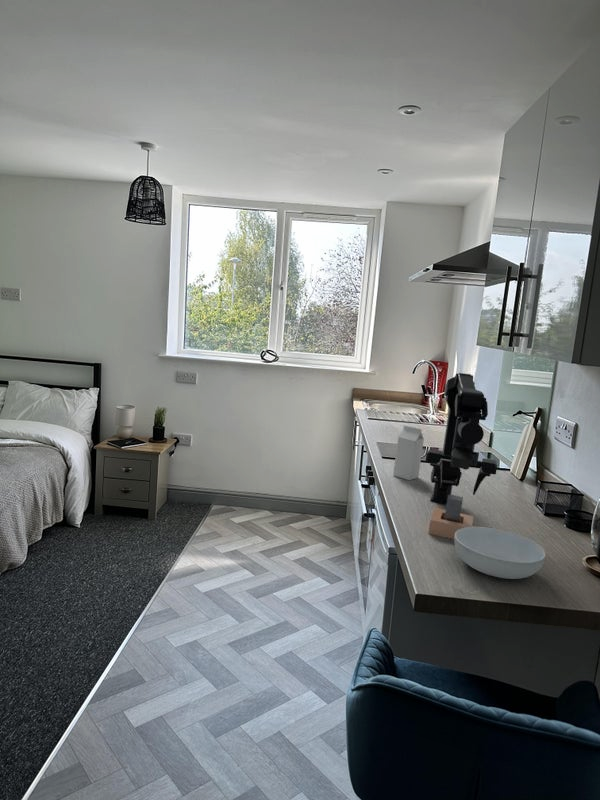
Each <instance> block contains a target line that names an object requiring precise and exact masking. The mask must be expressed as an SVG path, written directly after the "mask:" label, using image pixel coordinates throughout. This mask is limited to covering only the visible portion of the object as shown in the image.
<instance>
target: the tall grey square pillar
mask: <svg viewBox="0 0 600 800" xmlns="http://www.w3.org/2000/svg"><path fill="white" fill-rule="evenodd" d="M463 500H464V496H459V495H453V494H451V495H450V494H449V495H448V499H447V504H445V505H446V507H445V510H446V512H445V518H444V520H448V521H452V522H457V523H459V520H460V514H462V513H461V512H462V507H463Z"/></svg>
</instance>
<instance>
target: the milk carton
mask: <svg viewBox="0 0 600 800" xmlns="http://www.w3.org/2000/svg"><path fill="white" fill-rule="evenodd" d="M424 441H425V438H424V436H423V433H422V429H421V428H416V427H412V426H409V425H403V428H402V430H401V431H400V433H399V434H398V437H397V444H396V449H395V450H396V451H395V459H394V465H393V474H392V475H393V477H397V478H399V479H400V478H401V479H404V480H408V481H412V480H414V479H416V478H419V475H420V467H421V461H422V453H423V446H424Z"/></svg>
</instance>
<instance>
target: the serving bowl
mask: <svg viewBox="0 0 600 800" xmlns="http://www.w3.org/2000/svg"><path fill="white" fill-rule="evenodd" d="M453 541H454V546H455V550H456V552H457V554H458V556H459V557H460V558H461V560H462V561H463V562H464V563H465V564H466V565H468V566H469V567H471V568H472V569H474V570H476V571H478V572H480V573H482V574H485V575H488V576H492V577H494V578H495V577H496V578H499V579H510V580H515V579H517V580H519V579H524V578H529V577H531V576H532V575H534V574H536V573H537V572H539V570H540V569H541V568H542V566H543V564H544V563H545V559H546V555H547V553H546V551H545V549H544V548H543V547H542V546H541V545H540V544H538V543H537V542H535V541H533V540H532V539H530V538H527V537H525V536H523V535H521V534H518V533H515V532H511V531H508V530H504V529H499V528H493V527H486V526H485V527H484V526H472V527H466V528H462V529H459V530H457V531H456V532H455V535H454V539H453Z"/></svg>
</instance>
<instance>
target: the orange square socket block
mask: <svg viewBox="0 0 600 800" xmlns="http://www.w3.org/2000/svg"><path fill="white" fill-rule="evenodd" d="M445 512H446V509H441V508H437V507H434V509H433V512H432V514H431V517H430V520H429V528H428V533H430V534H429V535H433V534H435V535H434V536H437V535H439V536H438V537H441V536H444V537H443V538H446V537H448V538H447V539H450V538H452V540H454V535H455V532H456V531H457V530H459V529H462V528H466V527H473V522H474V515H471V514H470V515H469V514H465V513H461V514H460V520H459V523H457V522H452V521H448V520H444V518H445Z"/></svg>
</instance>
